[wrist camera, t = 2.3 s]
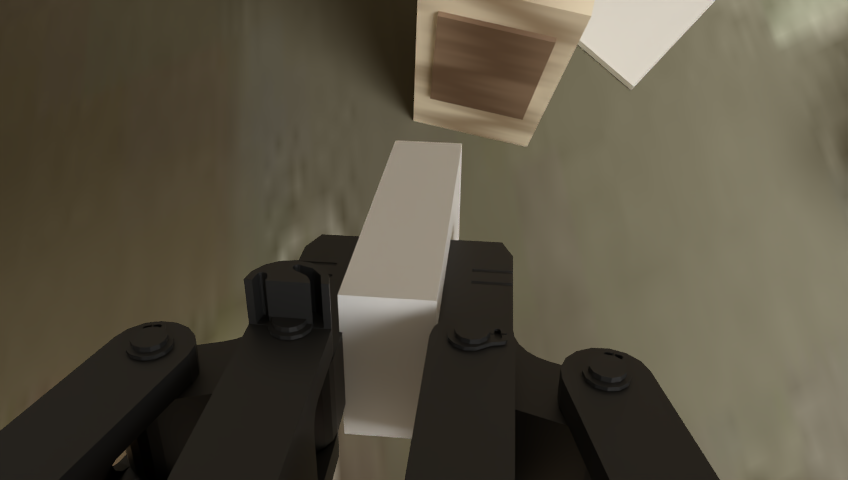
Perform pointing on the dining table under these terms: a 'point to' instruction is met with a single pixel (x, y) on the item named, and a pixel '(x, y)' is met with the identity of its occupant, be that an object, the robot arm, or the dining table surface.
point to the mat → (637, 33)
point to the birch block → (493, 62)
